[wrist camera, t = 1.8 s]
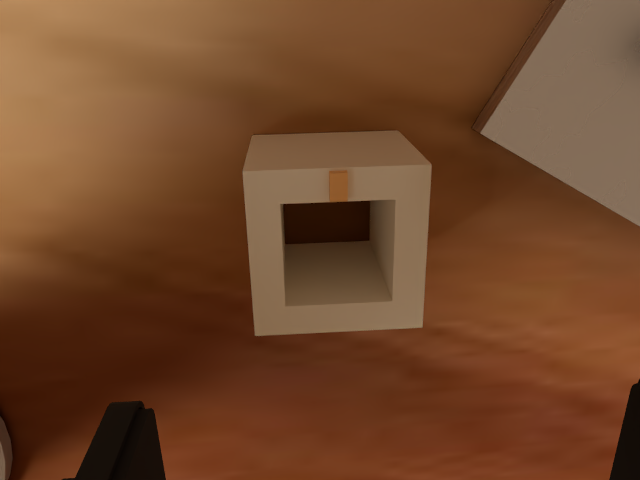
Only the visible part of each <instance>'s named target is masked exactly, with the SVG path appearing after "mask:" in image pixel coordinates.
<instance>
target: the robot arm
mask: <svg viewBox="0 0 640 480" xmlns="http://www.w3.org/2000/svg"><path fill="white" fill-rule="evenodd" d="M12 460H13V457H12V447H11V440H10V437H9V434H8V432H7V429H6V426H5V423H4V421H3V420H2V418H1V416H0V480H8V479H9V477H10V473H11V466H12ZM62 480H166V478H165V472H164V466H163V460H162V454H161V448H160V443H159V437H158V431H157V425H156V419H155V414H154V410H153V409H152V408H148V409H145V407H144V404H143V402H141V401H132V402H112V403H110V404H109V406H108V407H107V410H106V412H105V414H104V416H103V418H102V420H101V423H100V425H99V427H98V429H97V431H96V434H95V436H94V438H93V440H92V442H91V444H90V447H89V449H88V451H87V453H86V455H85V457H84V460H83V462H82V464H81V466H80V468H79V471H78V473H77V475H76V477H75V478H68V479H62ZM609 480H640V379H639V381H638V383H637V384H634V385H633V386H632V388H631V391H630V395H629V399H628V403H627V407H626V412H625V416H624V420H623V424H622V429H621V433H620V437H619V441H618V445H617V450H616V454H615V458H614V462H613V467H612V471H611V475H610V479H609Z"/></svg>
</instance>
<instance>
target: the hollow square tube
mask: <svg viewBox="0 0 640 480" xmlns="http://www.w3.org/2000/svg"><path fill="white" fill-rule="evenodd" d="M431 170H432V164H431V163H430V162H429V161H428V160H427V159H426V158H425V157H424V156H423V155H422V154H421V153H420V152H419V151H418V150H417V149H416V148H415V147H414V146H413V145H412V144H411V143H410V142H409V141H408V140H407V139H406V138H405V137H404V136H403V135H402V134H401V133H400V132H399V131H398V130H393V131H363V132H332V133H302V134H271V135H252V137H251V141H250V145H249V148H248V152H247V156H246V160H245V163H244V167H243V171H242V173H243V186H244V199H245V212H246V225H247V238H248V251H249V265H250V278H251V291H252V304H253V317H254V330H255V336H265V335H285V334H305V333H325V332H345V331H365V330H385V329H405V328H423V310H424V293H425V275H426V258H427V240H428V223H429V205H430V188H431ZM345 201H370V238H369V241H353V242H329V243H305V244H285V232H284V212H283V204H294V203H319V202H345Z"/></svg>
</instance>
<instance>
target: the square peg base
mask: <svg viewBox="0 0 640 480" xmlns="http://www.w3.org/2000/svg"><path fill="white" fill-rule="evenodd" d="M472 129H474V130H475V131H477V132H479V133H480V134H482V135H484V136H485V137H487V138H489V139H491V140H492V141H494V142H496V143H497V144H499V145H501V146H503V147H504V148H506V149H508V150H509V151H511V152H513V153H515V154H516V155H518V156H520V157H521V158H523V159H525V160H527V161H528V162H530V163H532V164H533V165H535V166H537V167H539V168H540V169H542V170H544V171H545V172H547V173H549V174H551V175H552V176H554V177H556V178H557V179H559V180H561V181H563V182H564V183H566V184H568V185H569V186H571V187H573V188H575V189H576V190H578V191H580V192H581V193H583V194H585V195H587V196H588V197H590V198H592V199H593V200H595V201H597V202H599V203H600V204H602V205H604V206H605V207H607V208H609V209H611V210H612V211H614V212H616V213H617V214H619V215H621V216H623V217H624V218H626V219H628V220H630V221H631V222H633V223H635V224H636V225H638V226H640V0H553V1H552V2H551V4H550V5H549V7H548V9H547V10H546V12H545V13H544V15H543V16H542V18H541V20H540V21H539V23H538V24H537V26H536V27H535V29H534V30H533V32H532V34H531V35H530V37H529V38H528V40H527V41H526V43H525V45H524V46H523V48H522V49H521V51H520V52H519V54H518V56H517V57H516V59H515V60H514V62H513V63H512V65H511V67H510V68H509V70H508V71H507V73H506V74H505V76H504V77H503V79H502V81H501V82H500V84H499V85H498V87H497V88H496V90H495V92H494V93H493V95H492V96H491V98H490V99H489V101H488V103H487V104H486V106H485V107H484V109H483V110H482V112H481V114H480V115H479V117H478V118H477V120H476V121H475V123H474V124H473V126H472Z"/></svg>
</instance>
